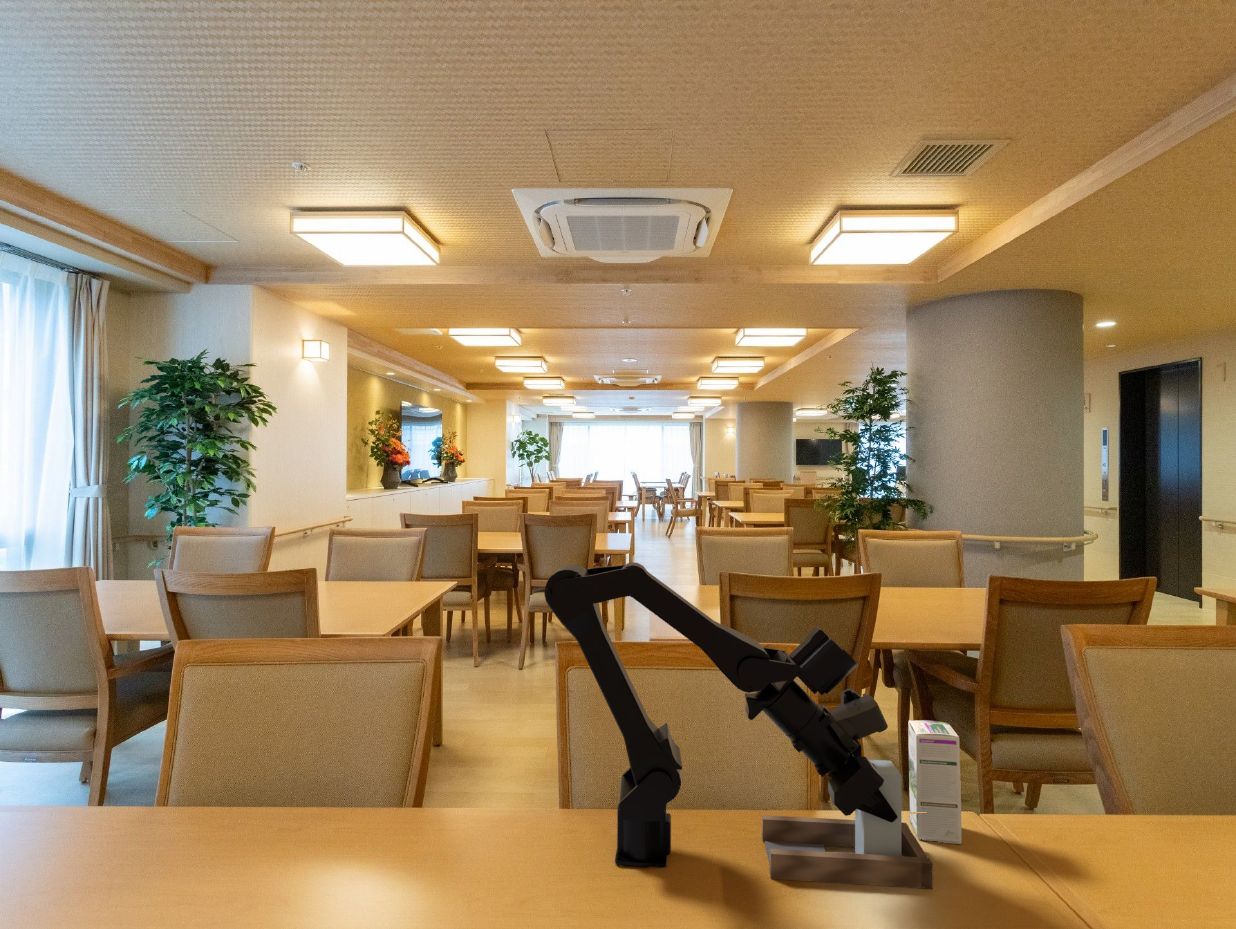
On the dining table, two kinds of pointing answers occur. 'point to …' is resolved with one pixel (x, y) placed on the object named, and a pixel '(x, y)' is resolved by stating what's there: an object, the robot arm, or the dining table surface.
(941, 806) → the syrup box
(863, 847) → the slate block
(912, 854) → the frame
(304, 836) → the dining table surface
